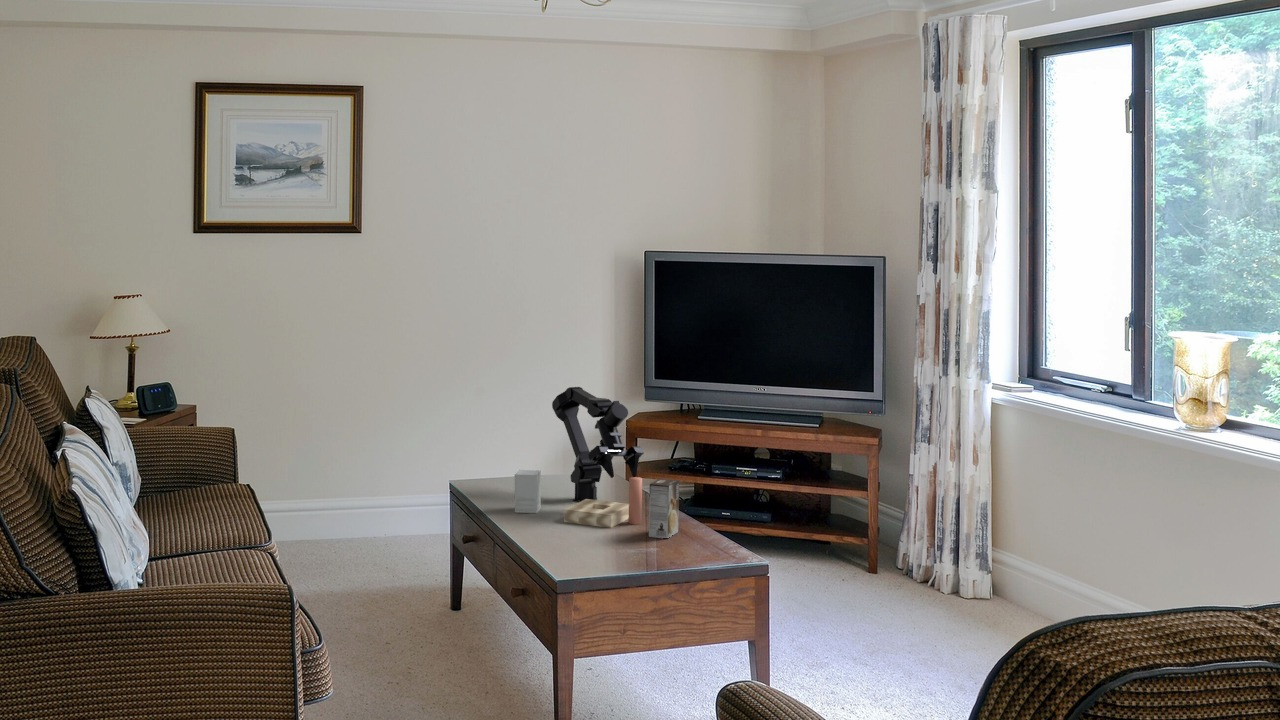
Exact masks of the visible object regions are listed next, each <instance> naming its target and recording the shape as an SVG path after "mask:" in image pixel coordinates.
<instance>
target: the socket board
mask: <svg viewBox="0 0 1280 720" xmlns="http://www.w3.org/2000/svg"><path fill="white" fill-rule="evenodd" d="M628 519H629V503H626V502H625V503H624V502H623V503H622V502H615V501H606V500H598V499H596V500H591V499H585V500H583V501H578V502H577V503H574V504H573V505H570V506H568V507H566V508H563V522H564V523H569V524H577V525H585V526H594V527H601V528H609V529H612V528H614V527H616V526H618V525H619V524H621V523H623V522H625V521H626V520H628Z"/></svg>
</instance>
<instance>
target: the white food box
mask: <svg viewBox="0 0 1280 720" xmlns="http://www.w3.org/2000/svg"><path fill="white" fill-rule="evenodd" d="M648 495H649V498H648V499H649V501H648V504H649V505H648V506H649V507H648V511H649V512H648V537H649V538H655V539H656V538H657V539H663V538H669V537H670V538H672V537H673V536H674V535H676V534H677V533H678V532H679V515H680V513H679V511H680V510H679V507H680V501H679V500H680V479H669V478H657V480H655V481H653V482H651V483H649V494H648ZM672 535H673V536H672ZM670 538H669V539H670Z"/></svg>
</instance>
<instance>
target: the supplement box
mask: <svg viewBox="0 0 1280 720" xmlns="http://www.w3.org/2000/svg"><path fill="white" fill-rule="evenodd" d="M541 476H542V475H541V470H534V469H533V470H531V469H519V470H518V471H517V472H515V473H514V513H519V514H520V513H523V514H537V513H538V512H539V511H540V510H541V502H542V501H541V484H542V483H541V480H542V479H541Z"/></svg>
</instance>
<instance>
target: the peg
mask: <svg viewBox="0 0 1280 720" xmlns="http://www.w3.org/2000/svg"><path fill="white" fill-rule="evenodd" d="M628 480H629V481H628V483H629V484H628V485H629V486H628V504H629V518H628V519H627V520H628V521H627V522H628V524H629V525H634V526H635V525H636V526H637V525H641V524H642V509H643V508H642V506H643V478H642V477H640V476H638V477H637V476H636V477H633V476H631V477H629V479H628Z"/></svg>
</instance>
